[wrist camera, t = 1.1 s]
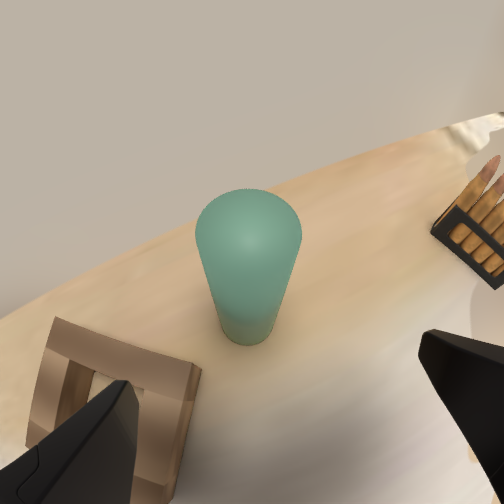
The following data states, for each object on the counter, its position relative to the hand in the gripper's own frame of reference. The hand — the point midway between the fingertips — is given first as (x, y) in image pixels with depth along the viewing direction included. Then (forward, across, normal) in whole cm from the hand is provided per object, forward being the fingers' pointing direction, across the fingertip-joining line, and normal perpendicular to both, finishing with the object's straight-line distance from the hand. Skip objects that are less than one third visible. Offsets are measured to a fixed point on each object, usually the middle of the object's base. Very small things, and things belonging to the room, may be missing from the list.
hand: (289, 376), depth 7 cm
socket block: (+9, +11, +10) cm, 18 cm away
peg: (+14, 0, +5) cm, 15 cm away
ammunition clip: (+15, -24, +4) cm, 28 cm away
